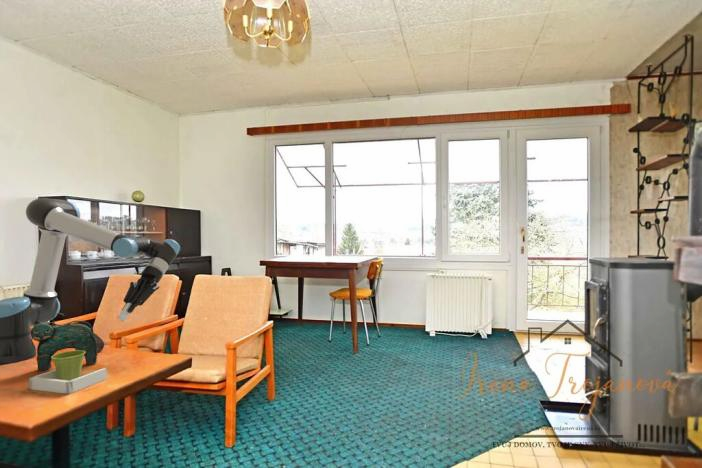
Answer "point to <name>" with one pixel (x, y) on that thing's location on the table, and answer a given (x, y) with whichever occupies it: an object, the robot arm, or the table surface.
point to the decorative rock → (99, 342)
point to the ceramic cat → (63, 341)
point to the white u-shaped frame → (65, 382)
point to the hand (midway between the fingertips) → (121, 319)
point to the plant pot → (68, 364)
